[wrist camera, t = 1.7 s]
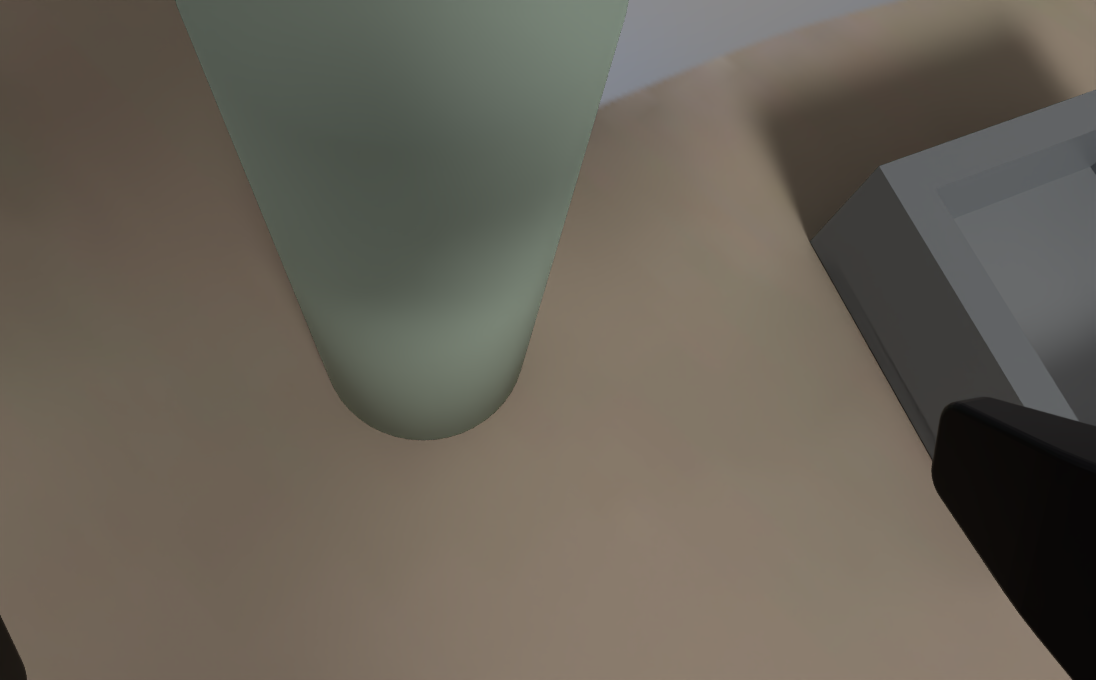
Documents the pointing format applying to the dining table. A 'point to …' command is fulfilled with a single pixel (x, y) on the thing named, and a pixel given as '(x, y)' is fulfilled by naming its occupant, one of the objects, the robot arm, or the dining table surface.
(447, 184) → the sage peg
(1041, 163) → the gray square tray
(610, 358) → the dining table surface
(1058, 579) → the robot arm
